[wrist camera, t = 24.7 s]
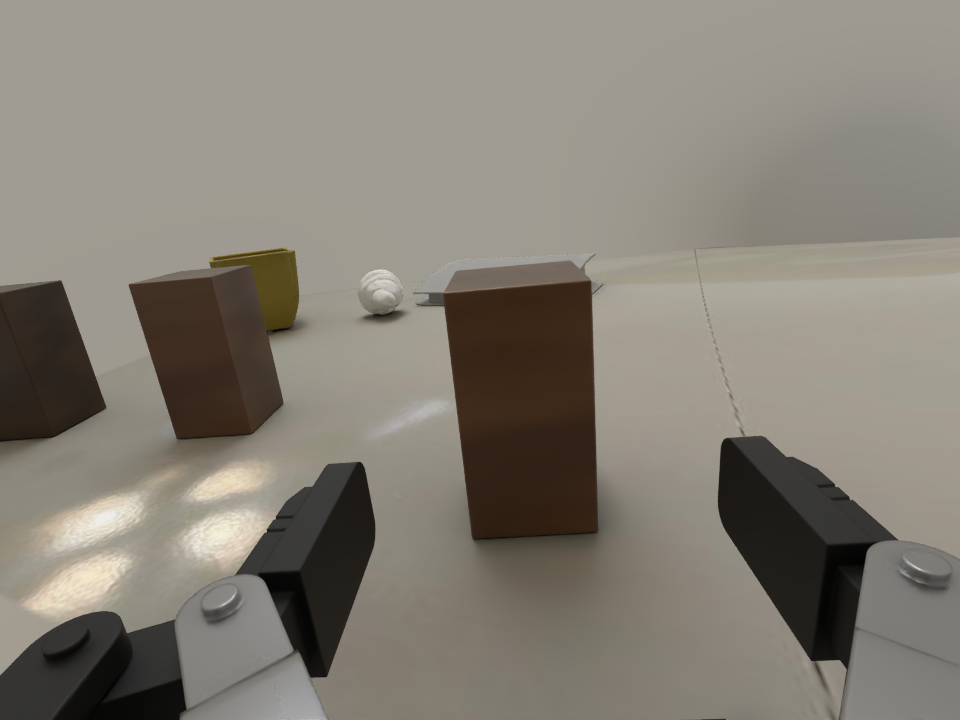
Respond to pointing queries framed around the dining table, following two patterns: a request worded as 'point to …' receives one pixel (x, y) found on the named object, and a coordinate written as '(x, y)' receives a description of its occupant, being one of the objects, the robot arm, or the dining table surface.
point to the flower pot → (270, 282)
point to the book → (442, 277)
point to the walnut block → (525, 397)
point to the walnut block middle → (209, 350)
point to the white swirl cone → (380, 292)
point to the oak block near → (42, 364)
